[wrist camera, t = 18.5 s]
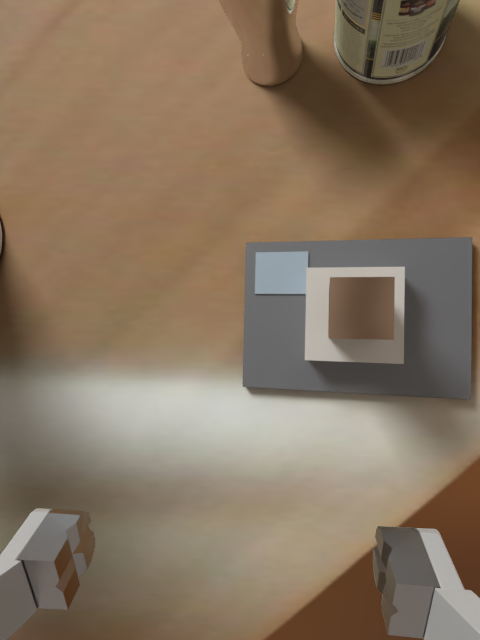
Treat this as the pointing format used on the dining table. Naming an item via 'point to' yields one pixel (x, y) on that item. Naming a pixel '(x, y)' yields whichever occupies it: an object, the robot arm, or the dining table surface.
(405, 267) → the build base
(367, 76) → the coffee can
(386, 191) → the dining table surface
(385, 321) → the walnut column
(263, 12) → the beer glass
